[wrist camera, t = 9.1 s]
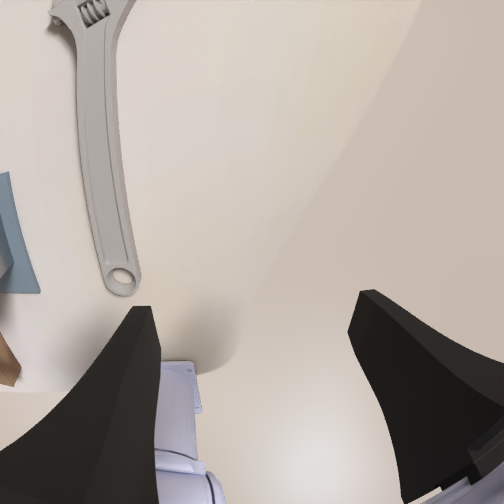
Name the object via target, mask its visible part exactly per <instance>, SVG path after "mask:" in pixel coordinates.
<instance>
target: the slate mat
mask: <svg viewBox="0 0 504 504" xmlns="http://www.w3.org/2000/svg"><path fill="white" fill-rule="evenodd" d="M0 214H1V218H2V222H3V226H4V230H5V233H6V237H7V240H8V244H9V247H10V250H11V253H12V256H13V259H14V262H13V263H12V264H11V266H10V267H9V268H8V269H7V271H6V272H5V273H4V274H3V275H2V277H1V278H0V292H4V293H39V292H40V288H39V285H38V283H37V280H36V277H35V274H34V271H33V268H32V265H31V262H30V259H29V256H28V253H27V250H26V247H25V243H24V240H23V236H22V232H21V229H20V225H19V221H18V217H17V213H16V208H15V204H14V199H13V194H12V189H11V183H10V178H9V172H5V173H1V174H0Z"/></svg>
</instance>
